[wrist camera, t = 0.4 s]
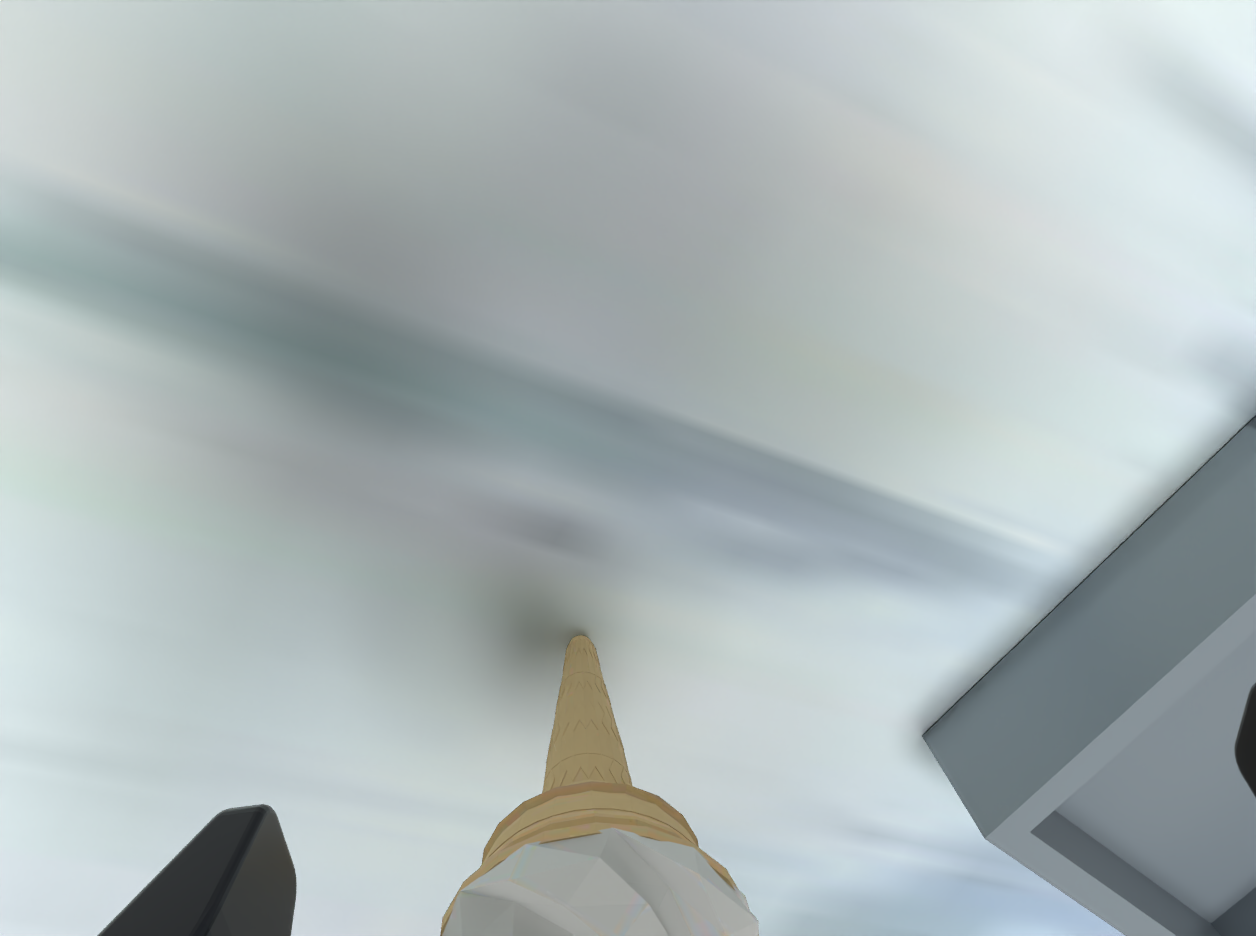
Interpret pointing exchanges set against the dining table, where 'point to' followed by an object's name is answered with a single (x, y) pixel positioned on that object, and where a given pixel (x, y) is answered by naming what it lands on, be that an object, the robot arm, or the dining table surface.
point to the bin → (1132, 723)
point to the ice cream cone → (595, 844)
